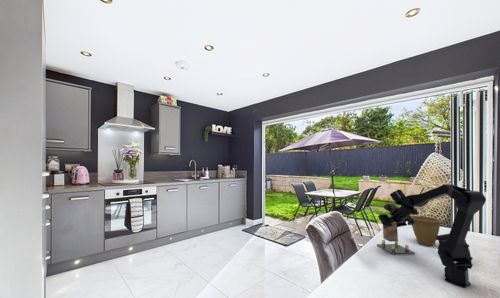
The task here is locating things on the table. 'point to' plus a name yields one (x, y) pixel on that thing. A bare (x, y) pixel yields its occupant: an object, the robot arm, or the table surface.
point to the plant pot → (426, 230)
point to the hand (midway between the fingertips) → (388, 227)
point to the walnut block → (390, 232)
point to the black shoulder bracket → (467, 252)
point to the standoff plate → (395, 248)
